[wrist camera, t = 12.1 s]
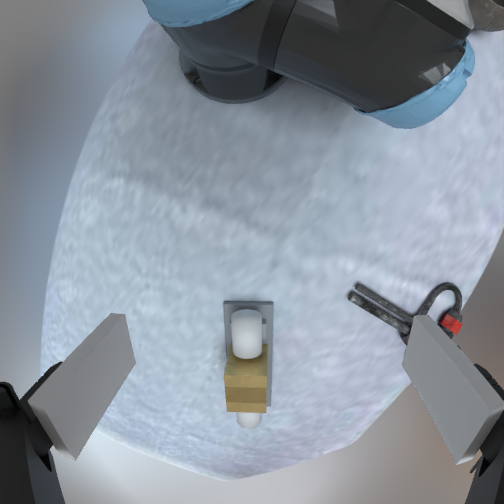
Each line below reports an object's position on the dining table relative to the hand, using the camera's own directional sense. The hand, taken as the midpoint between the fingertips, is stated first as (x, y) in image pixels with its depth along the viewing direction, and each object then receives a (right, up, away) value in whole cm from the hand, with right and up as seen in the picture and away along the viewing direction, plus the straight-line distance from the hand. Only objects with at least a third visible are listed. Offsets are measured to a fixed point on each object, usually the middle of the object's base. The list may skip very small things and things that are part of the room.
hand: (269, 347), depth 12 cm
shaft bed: (-1, -13, +33) cm, 36 cm away
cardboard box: (-1, -13, +32) cm, 35 cm away
